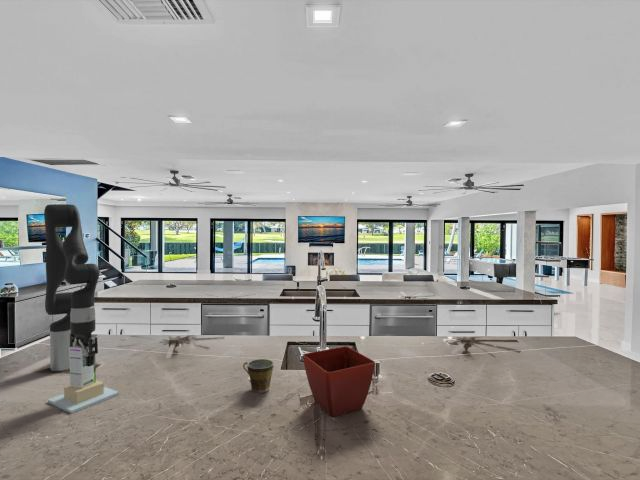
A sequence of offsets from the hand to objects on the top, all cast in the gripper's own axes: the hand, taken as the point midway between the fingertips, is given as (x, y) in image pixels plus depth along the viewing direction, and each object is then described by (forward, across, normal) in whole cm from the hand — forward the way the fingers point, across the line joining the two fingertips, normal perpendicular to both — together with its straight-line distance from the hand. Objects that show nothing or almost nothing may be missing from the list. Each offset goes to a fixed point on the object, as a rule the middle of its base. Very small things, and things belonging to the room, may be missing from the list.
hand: (83, 363), depth 130 cm
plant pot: (+13, +82, +42) cm, 93 cm away
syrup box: (+8, 0, 0) cm, 8 cm away
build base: (+13, 0, 0) cm, 13 cm away
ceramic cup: (+13, +49, +38) cm, 63 cm away
